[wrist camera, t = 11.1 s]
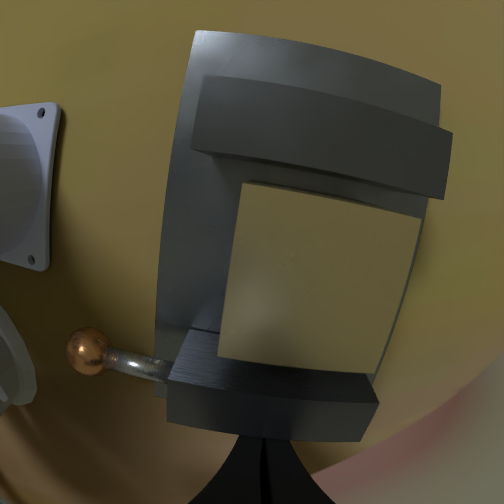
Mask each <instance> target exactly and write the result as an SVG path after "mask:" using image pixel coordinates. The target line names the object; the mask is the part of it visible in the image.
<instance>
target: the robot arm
mask: <svg viewBox="0 0 504 504" xmlns="http://www.w3.org/2000/svg"><path fill="white" fill-rule="evenodd" d="M44 110H45V115H44V116H43V118H42V113H43V111H44ZM60 115H61V108H60V106H59V105H58V104H57V103H53V102H48V103H37V104H27V105H19V106H11V107H4V108H0V260H1V261H4V262H7V263H11V264H14V265H18V266H21V267H25V268H28V269H32V270H36V271H44V270H46V269H47V268H48V267H49V263H50V258H49V223H50V199H51V184H52V173H53V163H54V154H55V146H56V139H57V133H58V126H59V120H60ZM32 256H33V257H34V259H35V262H34V261H33V259H32ZM188 504H335V503H334V502H333V501H332V500H331V499H330V498H329V497H328V496H327V495H326V494H325V493H324V492H323V491H322V490H321V488H320V487H319V486H318V485H317V484H316V483H315V481H314V480H313V479H312V477H311V476H310V475H309V473H308V472H307V471H306V469H305V468H304V466H303V464H302V463H301V461H300V460H299V458H298V456H297V455H296V453H295V451H294V449H293V447H292V445H291V443H290V441H289V440H283V439H271V438H261V437H253V436H245V435H239V437H238V439H237V441H236V443H235V445H234V447H233V449H232V451H231V452H230V454H229V456H228V457H227V459H226V461H225V462H224V464H223V465H222V467H221V468H220V469H219V471H218V472H217V473H216V475H215V476H214V477H213V478H212V479H211V481H210V482H209V483H208V484H207V485H206V486H205V488H204V489H203V490H202V491H201V492H200V493H199V494H198V495H197V496H196V497H194V498H193V499H192V500H191V501H190V502H189V503H188Z"/></svg>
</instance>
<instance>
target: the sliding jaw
mask: <svg viewBox="0 0 504 504" xmlns="http://www.w3.org/2000/svg"><path fill="white" fill-rule="evenodd" d="M219 338H220V334H214V333H209V332H203V331H198V330H193V329H189V332H188V334H187V336H186V338H185V340H184V343H183V345H182V347H181V349H180V352H179V354H178V356H177V358H176V361H175V362H171V361H166V360H162V359H158V358H153V357H149V356H145V355H141V354H137V353H133V352H129V351H125V350H121V349H118V348H114V347H112V344H111V342H110V340H109V338H108V337H107V336H106V335H105V334H104V333H103V332H102V331H100V330H98V329H96V328H92V327H83V328H80V329H77V330H76V331H74V332H73V333H72V334H71V335H70V337H69V339H68V341H67V344H66V356H67V359H68V362H69V363H70V365H71V366H72V368H73V369H74V370H75V371H77V372H78V373H80V374H82V375H84V376H89V377H94V376H99V375H101V374H103V373H104V372H106V371H107V370H108V369H110V370H113V371H117V372H120V373H124V374H127V375H131V376H135V377H138V378H142V379H146V380H150V381H154V382H159V383H163V384H167V422H172V423H176V424H181V425H185V426H190V427H195V428H200V429H206V430H212V431H217V432H224V433H230V434H237V435H245V436H253V437H261V438H271V439H283V440H297V441H317V442H360V440H361V439H362V437H363V435H364V433H365V431H366V429H367V427H368V425H369V423H370V421H371V419H372V417H373V416H374V413H375V411H376V409H377V407H378V405H379V401H378V399H377V396H376V394H375V392H374V390H373V388H372V386H371V384H370V381H369V379H368V377H367V375H366V373H354V372H339V371H327V370H316V369H305V368H296V367H287V366H279V365H271V364H264V363H257V362H250V361H243V360H237V359H230V358H224V357H219V356H217V353H218V345H219Z"/></svg>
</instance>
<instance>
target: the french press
mask: <svg viewBox="0 0 504 504" xmlns="http://www.w3.org/2000/svg"><path fill="white" fill-rule="evenodd" d="M36 392H37V383H36V374H35V367H34V365H33V363H32V360H31V358H30V355H29V353H28V350H27V347H26V345H25V342H24V340H23V338H22V337H21V335H20V334H19V332H18V330H17V329H16V327H15V325H14V324H13V322H12V320H11V318H10V317H9V315H8V313H7V312H6V311H5V310H4V309H3V308H2V307H1V305H0V416H1V415H2V414H3V413H4V412H5V410H6V409H7V408H8V407H9V406H10V405H11V404H13V405H18V406H22V405H25V404H28V403H31V402H32V401H33V399H34V396H35V394H36ZM4 402H5V403H4Z"/></svg>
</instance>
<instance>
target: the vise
mask: <svg viewBox="0 0 504 504" xmlns="http://www.w3.org/2000/svg"><path fill="white" fill-rule="evenodd" d="M440 98H441V85H440V84H437V83H435V82H433V81H430V80H428V79H425V78H423V77H420V76H418V75H415V74H412V73H410V72H407V71H404V70H401V69H399V68H396V67H393V66H390V65H387V64H384V63H381V62H378V61H374V60H371V59H368V58H364V57H361V56H357V55H354V54H350V53H346V52H343V51H339V50H334V49H330V48H326V47H322V46H317V45H312V44H307V43H302V42H297V41H291V40H286V39H279V38H273V37H266V36H258V35H250V34H241V33H230V32H216V31H196V33H195V37H194V41H193V45H192V49H191V54H190V58H189V62H188V67H187V72H186V76H185V81H184V86H183V91H182V96H181V101H180V106H179V111H178V117H177V123H176V128H175V134H174V140H173V146H172V153H171V159H170V166H169V173H168V181H167V188H166V196H165V205H164V213H163V222H162V232H161V243H160V254H159V267H158V281H157V297H156V318H155V353H154V358H158V359H162V360H166V361H171V362H175V361H176V358H177V356H178V354H179V352H180V349H181V347H182V345H183V343H184V340H185V338H186V336H187V334H188V332H189V329H193V330H198V331H203V332H209V333H214V334H220V331H221V324H222V316H223V309H224V302H225V295H226V288H227V281H228V274H229V268H230V261H231V254H232V247H233V241H234V234H235V228H236V221H237V215H238V208H239V202H240V195H241V189H242V183H244V182H246V181H249V180H256V181H262V182H268V183H274V184H280V185H286V186H291V187H297V188H302V189H307V190H313V191H318V192H323V193H328V194H333V195H338V196H343V197H347V198H352V199H357V200H361V201H364V202H368V203H371V204H374V205H378V206H381V207H384V208H388V209H391V210H394V211H397V212H401V213H404V214H407V215H410V216H413V217H416V218H419V219H422V220H421V224H420V229H419V233H418V238H417V242H416V246H415V250H414V254H413V258H412V262H411V266H410V269H409V273H408V277H407V280H406V284H405V287H404V291H403V294H402V297H401V300H400V304H399V307H398V310H397V313H396V316H395V319H394V322H393V325H392V328H391V331H390V334H389V336H388V339H387V342H386V345H385V347H384V350H383V353H382V355H381V358H380V361H379V363H378V366H377V368H376V371H375V373H374V374H372V373H366V375H367V377H368V379H369V381H370V384H371V386H372V384H373V381H374V379H375V377H376V374H377V372H378V369H379V367H380V364H381V362H382V359H383V357H384V354H385V351H386V349H387V346H388V343H389V341H390V338H391V335H392V332H393V329H394V326H395V324H396V321H397V318H398V315H399V312H400V308H401V305H402V302H403V299H404V296H405V292H406V289H407V286H408V282H409V279H410V275H411V272H412V268H413V264H414V260H415V256H416V253H417V248H418V244H419V240H420V236H421V231H422V227H423V222H424V218H425V213H426V208H427V203H428V197H429V198H435V199H440V200H444V195H445V189H446V183H447V177H448V170H449V163H450V155H451V146H452V137H453V133H452V132H449V131H447V130H444V129H442V128H439V127H438V125H439V113H440ZM154 396H157V397H161V398H166V399H167V384H163V383H159V382H154Z"/></svg>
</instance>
